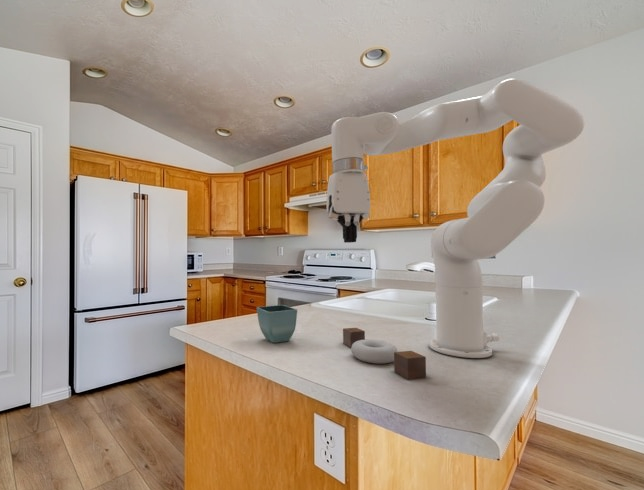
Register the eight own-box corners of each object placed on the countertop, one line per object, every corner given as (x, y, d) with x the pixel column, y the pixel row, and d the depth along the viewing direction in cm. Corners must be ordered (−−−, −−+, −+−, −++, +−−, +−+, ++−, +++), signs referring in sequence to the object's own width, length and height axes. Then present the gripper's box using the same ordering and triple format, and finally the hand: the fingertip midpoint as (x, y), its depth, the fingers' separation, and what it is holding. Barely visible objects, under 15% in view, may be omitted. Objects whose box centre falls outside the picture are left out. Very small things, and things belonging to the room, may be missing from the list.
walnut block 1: (356, 342, 85) (356, 327, 85) (365, 346, 81) (364, 331, 81) (343, 343, 84) (342, 328, 84) (350, 347, 80) (350, 332, 80)
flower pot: (269, 346, 83) (268, 311, 83) (256, 338, 91) (255, 306, 91) (298, 342, 86) (298, 309, 86) (283, 334, 94) (283, 304, 94)
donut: (353, 365, 68) (403, 367, 66) (352, 349, 68) (402, 350, 66) (349, 351, 78) (393, 352, 76) (348, 337, 78) (392, 338, 76)
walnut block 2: (411, 370, 65) (411, 350, 65) (426, 377, 61) (425, 356, 61) (394, 372, 64) (393, 352, 64) (408, 379, 60) (407, 358, 60)
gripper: (365, 174, 85) (368, 242, 85) (314, 172, 82) (316, 243, 82) (383, 166, 78) (385, 241, 78) (327, 164, 75) (329, 242, 75)
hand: (350, 242), depth 80 cm, fingers closed
